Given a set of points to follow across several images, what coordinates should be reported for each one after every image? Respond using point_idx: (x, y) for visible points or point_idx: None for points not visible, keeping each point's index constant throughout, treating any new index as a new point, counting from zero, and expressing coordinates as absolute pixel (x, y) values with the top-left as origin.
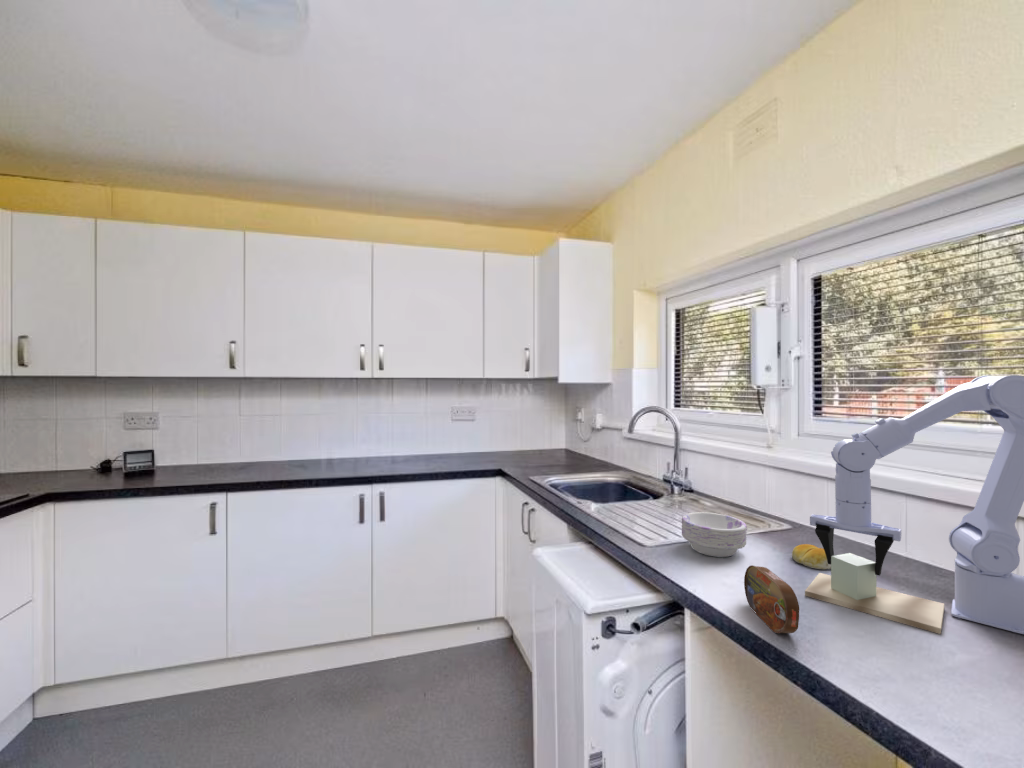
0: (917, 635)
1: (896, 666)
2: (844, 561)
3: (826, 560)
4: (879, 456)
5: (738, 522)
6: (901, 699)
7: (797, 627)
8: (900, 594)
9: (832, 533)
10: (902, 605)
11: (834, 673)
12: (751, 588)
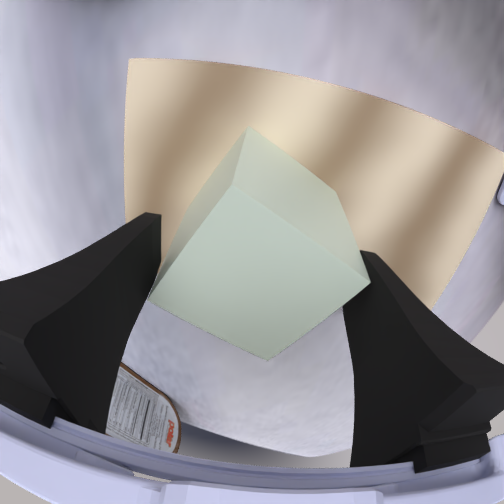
0: None
1: (305, 409)
2: (213, 334)
3: None
4: None
5: None
6: (294, 438)
7: (180, 425)
8: (420, 134)
9: (77, 341)
10: (397, 230)
11: (234, 431)
12: None
